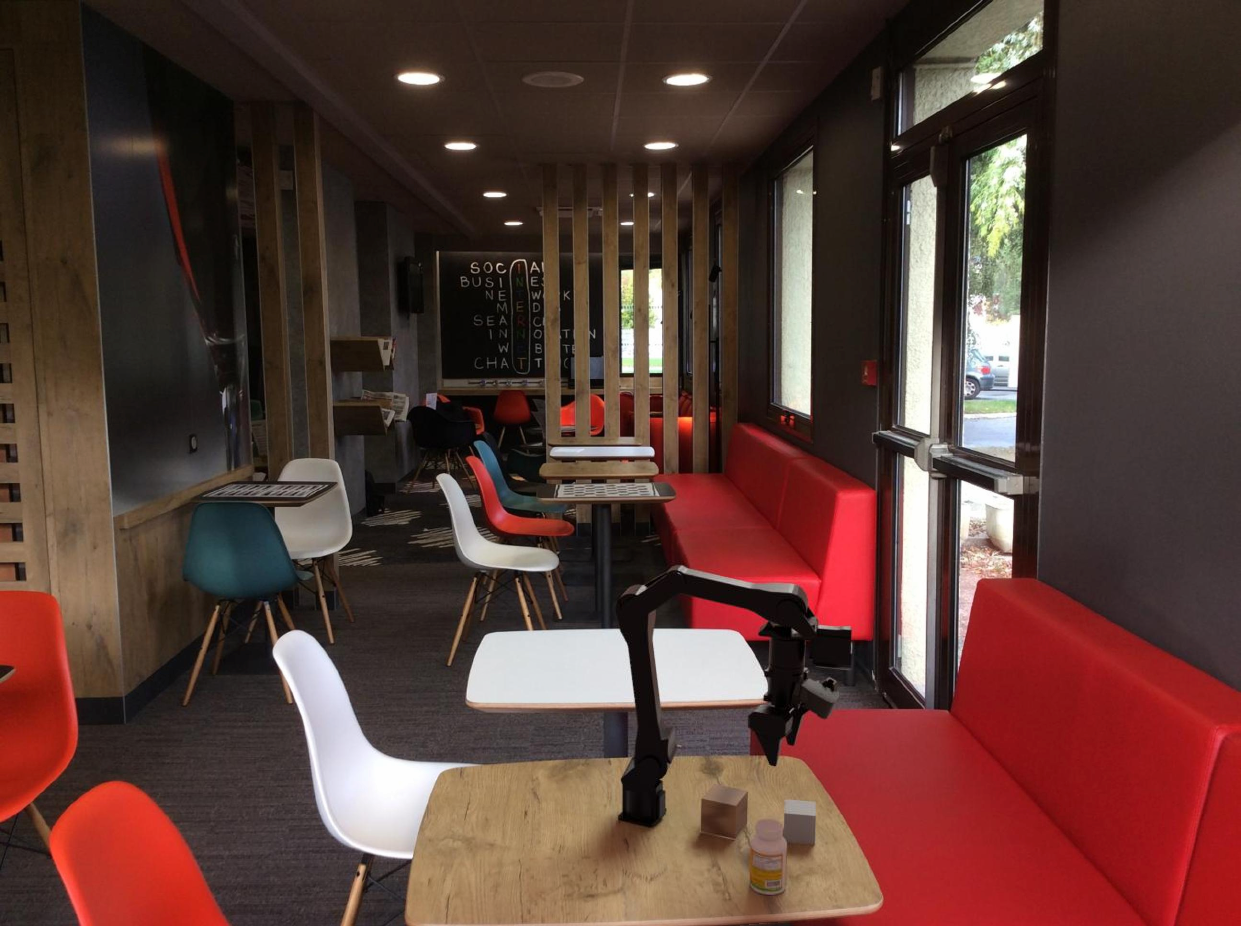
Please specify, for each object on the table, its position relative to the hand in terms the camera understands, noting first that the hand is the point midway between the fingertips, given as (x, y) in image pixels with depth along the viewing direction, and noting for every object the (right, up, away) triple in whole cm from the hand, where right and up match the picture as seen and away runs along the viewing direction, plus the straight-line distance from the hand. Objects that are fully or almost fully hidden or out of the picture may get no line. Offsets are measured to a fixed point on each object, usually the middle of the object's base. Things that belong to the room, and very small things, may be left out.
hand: (782, 755), depth 170 cm
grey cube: (+3, -13, 0) cm, 14 cm away
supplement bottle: (-4, -16, -15) cm, 22 cm away
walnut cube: (-9, -13, +3) cm, 16 cm away
